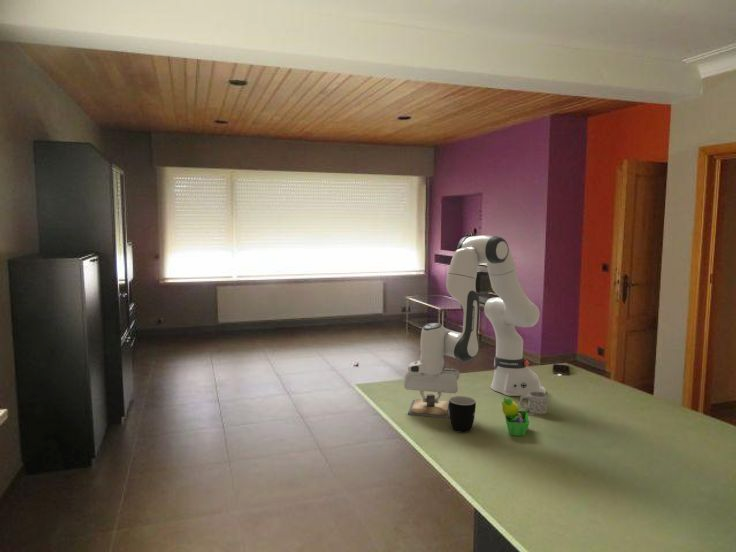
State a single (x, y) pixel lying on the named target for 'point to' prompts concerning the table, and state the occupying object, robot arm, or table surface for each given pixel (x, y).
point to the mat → (427, 414)
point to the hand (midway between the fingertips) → (430, 402)
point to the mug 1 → (462, 413)
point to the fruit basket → (515, 418)
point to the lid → (430, 406)
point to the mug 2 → (535, 402)
